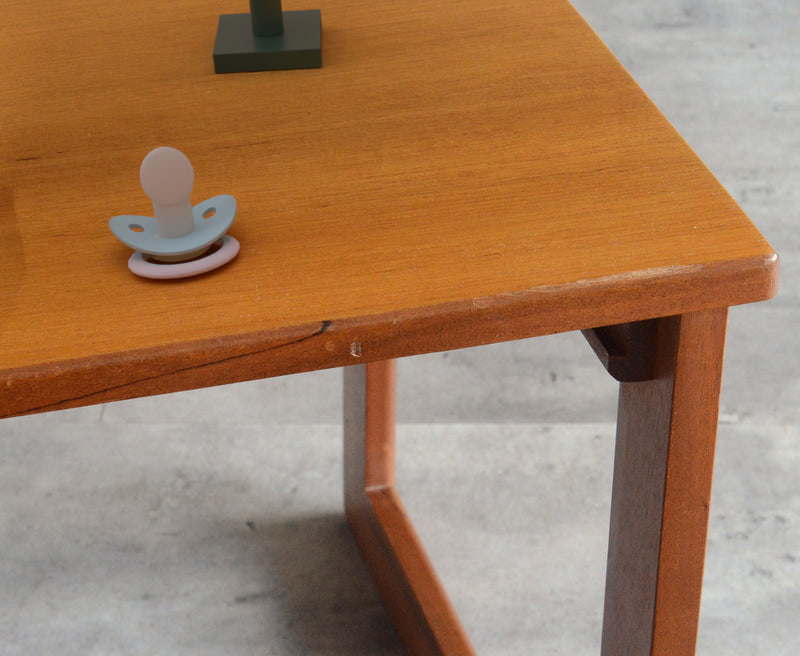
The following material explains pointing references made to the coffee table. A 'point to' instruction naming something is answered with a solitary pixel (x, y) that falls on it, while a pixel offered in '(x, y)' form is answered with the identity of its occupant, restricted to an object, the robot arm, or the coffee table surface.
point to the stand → (268, 39)
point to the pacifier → (176, 221)
